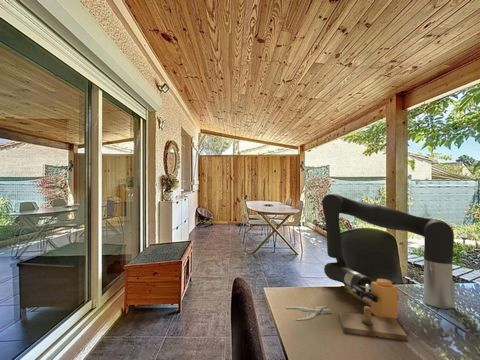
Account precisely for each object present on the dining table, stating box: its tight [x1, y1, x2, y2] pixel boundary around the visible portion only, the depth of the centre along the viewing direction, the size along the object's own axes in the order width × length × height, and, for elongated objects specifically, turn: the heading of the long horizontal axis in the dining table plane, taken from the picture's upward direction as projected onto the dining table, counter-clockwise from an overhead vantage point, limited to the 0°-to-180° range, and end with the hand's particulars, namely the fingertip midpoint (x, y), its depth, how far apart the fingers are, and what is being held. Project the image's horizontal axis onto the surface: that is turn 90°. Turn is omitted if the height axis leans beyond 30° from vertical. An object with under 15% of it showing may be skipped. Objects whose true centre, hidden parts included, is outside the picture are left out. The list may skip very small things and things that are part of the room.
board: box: [338, 305, 408, 341], centre depth 89 cm, size 18×11×6 cm, turn 77°
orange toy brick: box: [370, 278, 399, 320], centre depth 98 cm, size 6×6×12 cm
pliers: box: [285, 305, 332, 322], centre depth 99 cm, size 10×2×15 cm
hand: (387, 298), depth 96 cm, fingers open, 8 cm apart
